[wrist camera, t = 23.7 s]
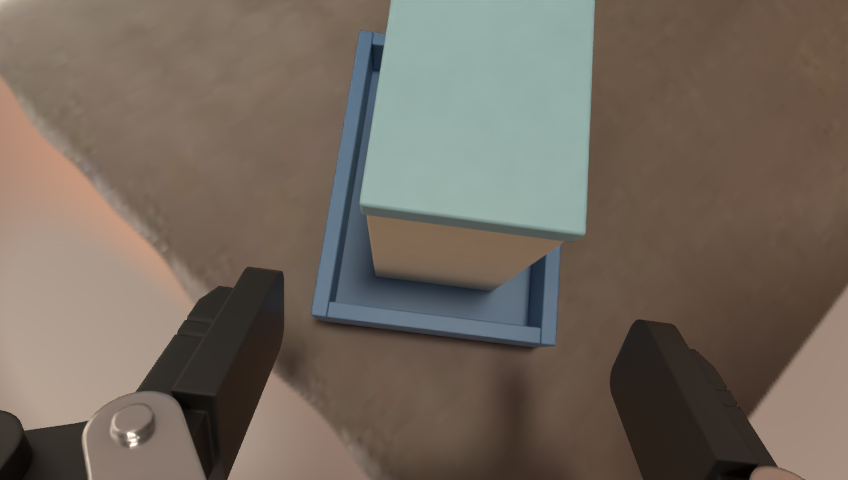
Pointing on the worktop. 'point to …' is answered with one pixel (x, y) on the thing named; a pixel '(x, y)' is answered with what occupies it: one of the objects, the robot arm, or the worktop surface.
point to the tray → (402, 299)
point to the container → (478, 138)
